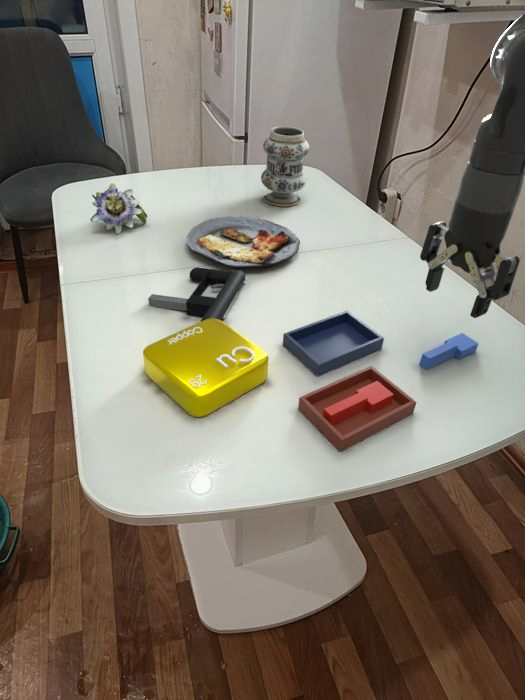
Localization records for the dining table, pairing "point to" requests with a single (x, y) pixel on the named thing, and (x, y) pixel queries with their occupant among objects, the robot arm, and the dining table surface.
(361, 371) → the rust tray
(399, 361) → the dining table surface
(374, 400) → the red stepped block
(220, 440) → the dining table surface
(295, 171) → the apothecary jar
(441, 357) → the blue stepped block
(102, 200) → the passion flower
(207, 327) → the element tile
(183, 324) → the dining table surface
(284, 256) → the food plate
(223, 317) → the door handle
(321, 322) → the navy tray
